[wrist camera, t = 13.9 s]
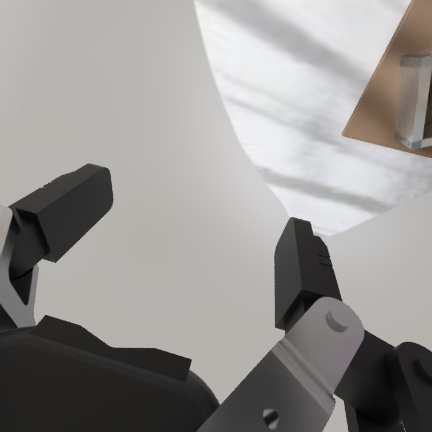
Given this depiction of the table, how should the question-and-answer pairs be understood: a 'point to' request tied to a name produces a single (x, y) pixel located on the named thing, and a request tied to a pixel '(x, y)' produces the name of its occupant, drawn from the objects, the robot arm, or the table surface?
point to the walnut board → (392, 83)
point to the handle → (430, 97)
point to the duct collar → (414, 99)
